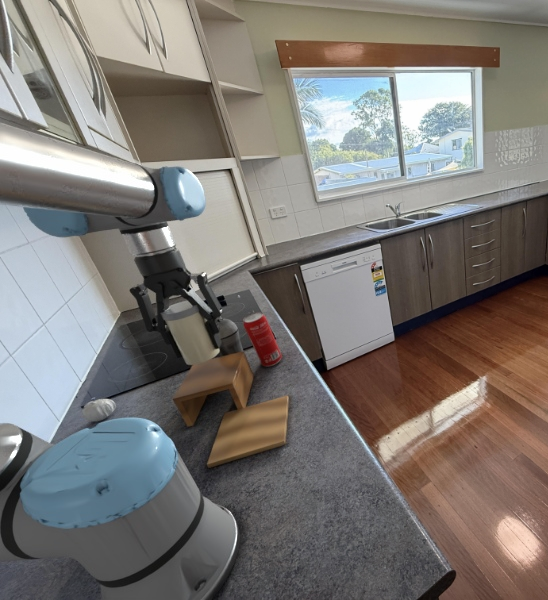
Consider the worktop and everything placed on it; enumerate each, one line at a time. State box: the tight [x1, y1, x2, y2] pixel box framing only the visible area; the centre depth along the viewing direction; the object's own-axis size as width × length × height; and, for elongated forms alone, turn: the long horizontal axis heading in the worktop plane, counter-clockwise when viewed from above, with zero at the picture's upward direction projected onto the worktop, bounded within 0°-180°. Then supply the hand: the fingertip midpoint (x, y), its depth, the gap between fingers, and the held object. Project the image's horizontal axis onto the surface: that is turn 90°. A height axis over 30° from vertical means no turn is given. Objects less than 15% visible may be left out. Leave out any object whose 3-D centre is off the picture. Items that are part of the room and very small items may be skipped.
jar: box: [160, 300, 220, 366], centre depth 69 cm, size 7×7×12 cm
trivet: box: [206, 395, 290, 469], centre depth 66 cm, size 14×14×1 cm
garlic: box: [81, 398, 117, 422], centre depth 75 cm, size 6×5×5 cm
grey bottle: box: [217, 315, 244, 357], centre depth 84 cm, size 7×7×20 cm
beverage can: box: [242, 311, 283, 368], centre depth 86 cm, size 6×6×15 cm
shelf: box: [172, 350, 255, 428], centre depth 75 cm, size 14×12×8 cm
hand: (200, 350), depth 71 cm, fingers closed on jar, 7 cm apart
